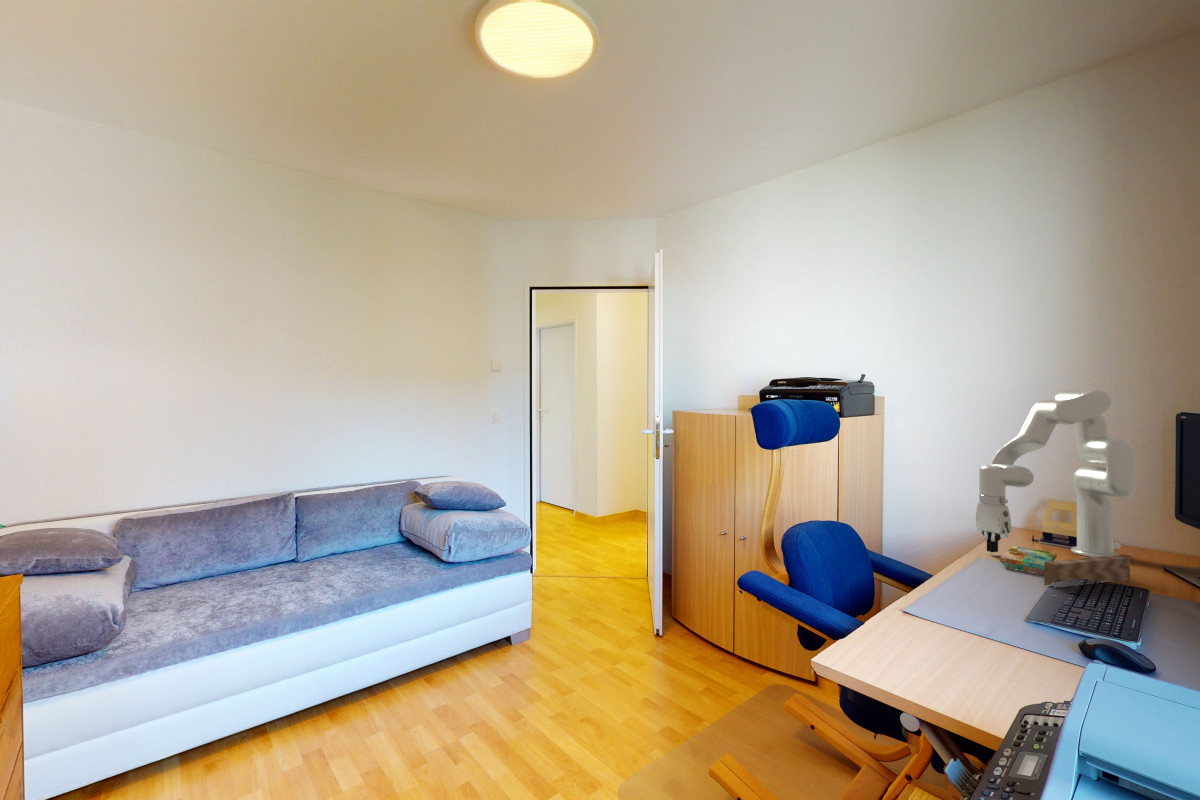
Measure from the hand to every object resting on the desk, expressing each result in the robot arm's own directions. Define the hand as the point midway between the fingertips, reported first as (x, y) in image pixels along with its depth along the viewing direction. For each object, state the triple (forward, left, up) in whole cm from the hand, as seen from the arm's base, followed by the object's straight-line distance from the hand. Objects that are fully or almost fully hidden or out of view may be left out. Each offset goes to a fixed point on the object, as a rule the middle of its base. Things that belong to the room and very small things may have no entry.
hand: (992, 551), depth 188 cm
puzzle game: (0, +13, -2) cm, 13 cm away
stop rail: (0, +30, -1) cm, 30 cm away
